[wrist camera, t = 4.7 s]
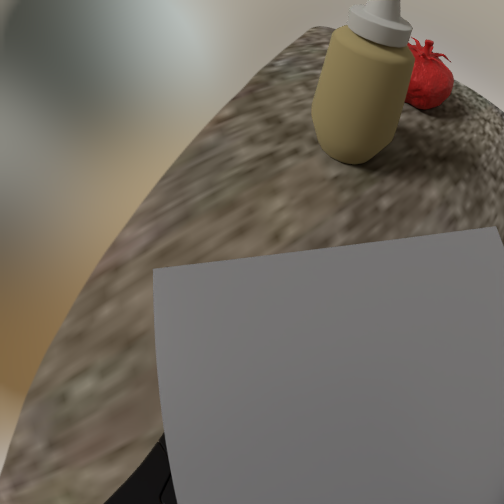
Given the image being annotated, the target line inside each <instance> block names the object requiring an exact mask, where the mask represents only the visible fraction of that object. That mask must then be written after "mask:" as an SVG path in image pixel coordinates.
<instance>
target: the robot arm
mask: <svg viewBox="0 0 504 504" xmlns="http://www.w3.org/2000/svg"><path fill="white" fill-rule="evenodd" d="M159 442H160V443H159ZM159 442H157V443H156V444H155V446H154V447H153V449H152V450H151V451H150V453H149V454H148V455H147V457H146V458H145V459H144V461H143V462H142V463H141V465H140V466H139V467H138V468H137V469H136V470H135V471H134V472H133V474H132V475H131V476H130V477H129V478H128V479H127V480H126V481H125V482H124V483H123V484H122V485H121V486H120V487H119V488H118V490H117V491H116V492H115V493H114V494H113V495H112V496H111V497H110V498H109V499H108V500H107V501H106V502H105V503H104V504H177V499H176V495H175V490H174V485H173V480H172V475H171V469H170V464H169V458H168V452H167V446H166V440H165V433H163V434H162V436H161V437H160V439H159Z"/></svg>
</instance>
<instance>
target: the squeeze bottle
mask: <svg viewBox="0 0 504 504" xmlns="http://www.w3.org/2000/svg"><path fill="white" fill-rule="evenodd" d="M412 29H413V28H412V26H411V25H410V24H409V22H407V21H406V20H404V19H403V18H402V17H400V0H368V1H367V3H366V5H353V6H351V7H350V8H349V14H348V21H347V25H345V26H342V27H339V28H338V29H336V30H335V31H334V32H333V33H332V37H331V40H330V44H329V47H328V51H327V54H326V58H325V61H324V65H323V68H322V72H321V75H320V78H319V82H318V85H317V89H316V92H315V95H314V99H313V102H312V112H311V115H312V119H313V123H314V127H315V131H316V135H317V139H318V142H319V144H320V146H321V148H322V150H324V151H325V152H326V153H327V154H328V155H329V156H330V157H332V158H334V159H336V160H338V161H340V162H343V163H348V164H361V163H365V162H366V161H368V160H369V159H371V158H372V157H374V156H375V155H376V154H377V153H378V152H380V151H381V150H382V149H383V148H384V147H386V146H387V145H388V144H389V143H390V142H392V140H393V137H394V135H395V132H396V129H397V125H398V122H399V119H400V115H401V112H402V109H403V105H404V102H405V98H406V94H407V91H408V87H409V83H410V79H411V75H412V71H413V67H414V63H415V57H414V56H413V54H412V52H411V50H410V49H409V47H408V46H407V44H408V41H409V38H410V35H411V32H412Z"/></svg>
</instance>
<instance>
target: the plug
mask: <svg viewBox="0 0 504 504" xmlns="http://www.w3.org/2000/svg"><path fill="white" fill-rule="evenodd" d="M153 297H154V326H155V345H156V359H157V372H158V383H159V393H160V402H161V410H162V418H163V426H164V433H165V440H166V446H167V452H168V458H169V464H170V469H171V475H172V480H173V485H174V490H175V495H176V499H177V504H504V247H503V244H502V241H501V238H500V236H499V233H498V230H497V228H496V226H494V227H487V228H479V229H472V230H464V231H457V232H449V233H441V234H434V235H426V236H418V237H410V238H403V239H395V240H387V241H379V242H371V243H363V244H355V245H347V246H339V247H331V248H323V249H315V250H307V251H299V252H291V253H283V254H274V255H266V256H258V257H250V258H241V259H233V260H225V261H216V262H208V263H200V264H191V265H183V266H174V267H166V268H157V269H153Z"/></svg>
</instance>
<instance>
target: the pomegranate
mask: <svg viewBox="0 0 504 504" xmlns="http://www.w3.org/2000/svg"><path fill="white" fill-rule="evenodd" d="M413 39H414V40H415V42H416V45H411V44H410V43H408V44H407V46H408V47H409V49H410V50H411V52H412V54H413V56H414V57H415V63H414V67H413V71H412V75H411V79H410V83H409V87H408V91H407V94H406V98H405V102H406V103H409V104H411V105H412V106H414V107H416V108H418V109H423V110H426V109H430V108H433V107H436V106H439V105H440V104H441V103H442V102H443V101H444V100H446V99H447V98H448V97H449V96H450V93H451V91H452V87H453V82H454V78H453V75H452V72H451V71H450V70H449V69H448V68H447V67H446V66H445V65H444V64H443V62H442V61H441V60H440V59H439V58H438V57H439V56H443V57H445V58H446V59H447V60H448V58H447V57H446V56H445V55H444V54H439V53H433V52H432V49H433V44H434V42H433V41H431V40H425V46H424V47H422V46H421V45H420V43H419V41H418V40H416V39H415V38H413ZM450 62H451V61H450Z"/></svg>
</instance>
